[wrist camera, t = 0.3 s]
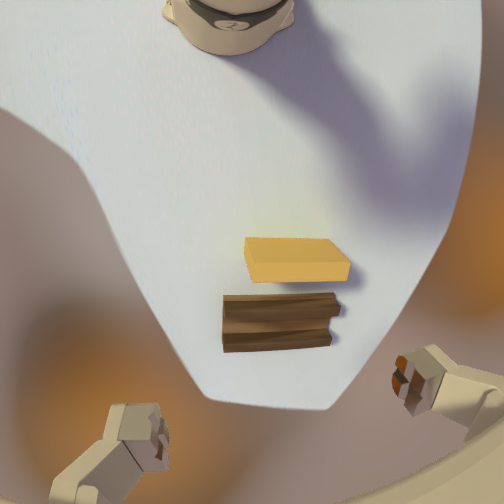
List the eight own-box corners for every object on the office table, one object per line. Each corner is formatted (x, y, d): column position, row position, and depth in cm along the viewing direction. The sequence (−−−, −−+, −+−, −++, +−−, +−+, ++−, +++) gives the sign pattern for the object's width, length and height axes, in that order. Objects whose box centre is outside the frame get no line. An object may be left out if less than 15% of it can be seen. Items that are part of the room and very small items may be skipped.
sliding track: (223, 295, 52) (225, 308, 48) (333, 292, 55) (341, 304, 51) (222, 340, 56) (223, 354, 52) (322, 334, 59) (329, 347, 55)
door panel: (245, 237, 48) (254, 262, 40) (328, 238, 50) (351, 262, 42) (243, 254, 49) (252, 282, 41) (325, 255, 52) (346, 280, 44)
